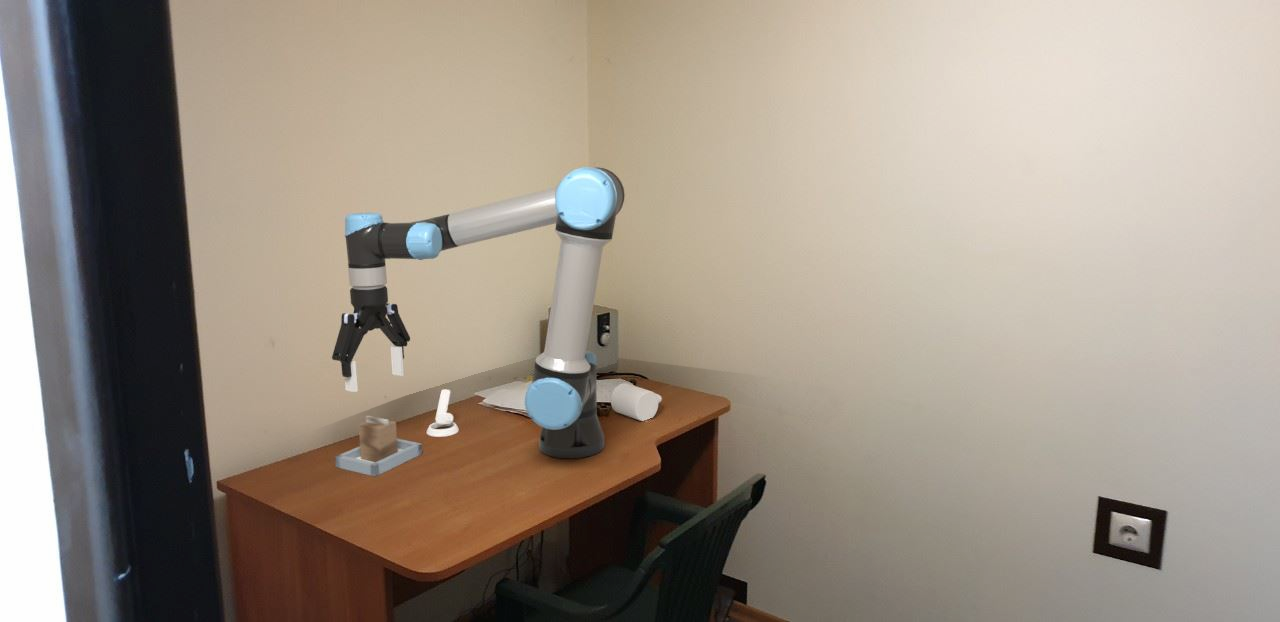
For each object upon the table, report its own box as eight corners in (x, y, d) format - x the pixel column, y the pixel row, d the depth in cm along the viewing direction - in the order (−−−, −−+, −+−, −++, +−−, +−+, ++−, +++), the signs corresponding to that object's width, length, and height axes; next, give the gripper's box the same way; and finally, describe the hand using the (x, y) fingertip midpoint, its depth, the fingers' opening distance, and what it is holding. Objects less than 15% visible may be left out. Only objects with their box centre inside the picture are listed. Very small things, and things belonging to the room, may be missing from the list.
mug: (636, 424, 195) (636, 394, 193) (610, 415, 202) (610, 386, 200) (669, 414, 203) (670, 385, 201) (644, 405, 210) (644, 377, 208)
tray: (422, 453, 175) (421, 443, 174) (375, 476, 162) (374, 465, 162) (384, 445, 180) (383, 435, 179) (335, 467, 167) (335, 456, 167)
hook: (463, 400, 197) (465, 391, 191) (455, 445, 192) (457, 438, 186) (433, 395, 196) (434, 387, 189) (424, 441, 190) (426, 434, 184)
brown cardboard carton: (397, 456, 172) (395, 416, 170) (381, 463, 167) (378, 423, 166) (377, 451, 174) (375, 412, 173) (360, 459, 170) (358, 419, 168)
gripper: (397, 277, 176) (403, 367, 180) (307, 294, 154) (317, 396, 158) (422, 279, 173) (428, 370, 177) (335, 296, 151) (343, 400, 155)
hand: (375, 382), depth 167 cm, fingers open, 13 cm apart
